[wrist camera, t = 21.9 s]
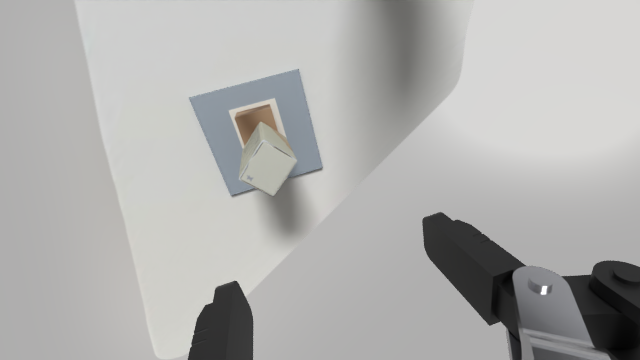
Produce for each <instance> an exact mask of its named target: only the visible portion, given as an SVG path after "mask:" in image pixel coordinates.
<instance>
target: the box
mask: <svg viewBox="0 0 640 360" xmlns="http://www.w3.org/2000/svg"><path fill="white" fill-rule="evenodd" d="M296 163H297V159H296V157H295V155H294V153H293V151H292V149H291V147H290V145H289V143H288V141H287V139H286V137H285V136H283V135H282V134H280V133H279V132H277V131H276V130H274V129H273V128H271V127H270V126H268V125H266V124H265V123H263V122H260V123H259V124H258V125H257V127H256V128H255V130H254V132H253V133H252V135H251V137H250V138H249V140H248V142H247V143H246V145H245V147H244V148H243V150H242V157H241V165H240V172H239V180H240V181H242V182H244V183H246V184H248V185H250V186H252V187H254V188H256V189H258V190H260V191H262V192H264V193H266V194H268V195H270V196H274V195H275V194H276V193H277V191H278V190H279V189H280V187H281V186H282V184H283V183H284V181H285V180H286V178H287V177H288V175H289V174H290V172H291V171H292V169H293V167H294V166H295V164H296Z"/></svg>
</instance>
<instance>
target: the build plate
mask: <svg viewBox="0 0 640 360" xmlns="http://www.w3.org/2000/svg"><path fill="white" fill-rule="evenodd" d="M189 100H190V102H191V104H192V107H193V109H194V111H195V114H196V116H197V118H198V121H199V123H200V125H201V128H202V130H203V132H204V135H205V137H206V139H207V141H208V144H209V146H210V148H211V151H212V153H213V155H214V158H215V160H216V162H217V165H218V167H219V169H220V172H221V174H222V176H223V179H224V181H225V183H226V186H227V188H228V190H229V193H230V195H234V194H237V193H240V192H244V191H247V190H250V189H254V187H252V186H250V185H248V184H246V183H244V182H242V181H240V180H239V172H240V165H241V157H242V150H243V148H244V147H245V146H244V143H243V140H242V138H241V135H240V132H239V129H238V127H237V124H236V121H235V115H236V113H237V112H240V111H244V110H248V109H252V108H255V107H259V106H263V105H267V104H270V106H271V109H272V113H273V116H274V119H275V123H276V126H277V130H278V132H279V133H280V134H282V135H283V136H285V137H286V139H287V141H288V143H289V145H290V147H291V149H292V151H293V153H294V155H295V157H296V159H297V163H296V164H295V166H294V167H293V169H292V171H291V172H290V174H289V175H288V177H287V178H290V177H293V176H296V175H300V174H303V173H306V172H310V171H313V170H316V169H319V168H323V166H322V162H321V158H320V154H319V150H318V146H317V142H316V138H315V134H314V130H313V126H312V122H311V118H310V114H309V109H308V105H307V101H306V97H305V93H304V89H303V85H302V81H301V77H300V73H299V69H297V70H293V71H289V72H285V73H281V74H277V75H274V76H270V77H266V78H262V79H258V80H255V81H251V82H247V83H243V84H239V85H235V86H232V87H228V88H224V89H220V90H216V91H213V92H209V93H205V94H201V95H197V96H194V97H190V98H189Z"/></svg>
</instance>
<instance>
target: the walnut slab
mask: <svg viewBox="0 0 640 360" xmlns="http://www.w3.org/2000/svg"><path fill="white" fill-rule="evenodd" d="M235 121H236V124H237V127H238V129H239V132H240V135H241V138H242V140H243V143H244V146H245V145H246V143H247V142H248V140H249V138H250V137H251V135H252V133H253V132H254V130H255V128H256V127H257V125H258V124H259V123H260V122H263V123H265V124H266V125H268V126H270V127H271V128H273V129H274V130H276V131H277V132H278V130H277V126H276V123H275V119H274V116H273V113H272V109H271V106H270V104H267V105H263V106H259V107H255V108H252V109H248V110H244V111H240V112H237V113H236V115H235Z"/></svg>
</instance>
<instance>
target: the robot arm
mask: <svg viewBox="0 0 640 360" xmlns="http://www.w3.org/2000/svg"><path fill="white" fill-rule="evenodd" d="M423 236H424V247H425V250H426V253H427V255H428V257H429V258H430V260H431V261H432V262H433V263H434V264H435V265H436V267H437V268H438V269H439V270H440V271H441V272H442V273H443V274H444V275H445V276H446V278H447V279H448V280H449V281H450V282H451V283H452V284H453V285H454V287H455V288H456V289H457V290H458V291H459V292H460V293H461V294H462V295H463V297H464V298H465V299H466V300H467V301H468V302H469V303H470V304H471V306H472V307H473V308H474V309H475V310H476V311H477V312H478V313H479V315H480V316H481V317H482V318H483V319H484V320H485V321H486V322H487V323H488V325H493V324H495V323H498V322H500V321H501V322H502V323H503V324H504V325H505V326H506V328H507V329H506V335H507V341H508V349H509V356H510V360H640V267H638V266H635V265H632V264H629V263H625V262H620V261H603V262H599V263H597V264H596V265H595V266H594V267H593V271H592V274H591V275H581V276H560V275H558V274H556V273H555V272H552V271H550V270H548V269H545V268H541V267H536V266H526V265H524V264H523V263H521V262H520V261H519V260H518V259H516V258H515V257H514V256H512V255H511V254H510V253H508V252H506V250H504V249H503V248H501V247H500V246H499V245H497V244H496V243H495V242H493V241H491V240H490V239H489V238H488V237H487V236H485V235H484V234H481V232H480V231H479V230H477V229H476V228H475V227H473V226H472V225H470V224H468V223H465V222H462V221H460V220H455V221H453V220H451V219H450V218H449V217H447V216H446V215H445V214H444V213H441V212H439V213H436V214H433V215H430V216H428V217H424V218H423ZM188 360H253V316H252V312H251V308H250V306H249V304H248V302H247V300H246V298H245V296H244V294H243V292H242V290H241V288H240V286H239V284H238V282H237V281H233V282H230V283H227V284H224V285H221V286H218V287H216V289H215V294H214V299H213V303H211V304H208V305H205V307H204V308H203V310H202V312H201V313H200V315H199V317H198V318H197V322H196V326H195V330H194V335H193V339H192V347H191V348H190V352H189V357H188Z"/></svg>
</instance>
